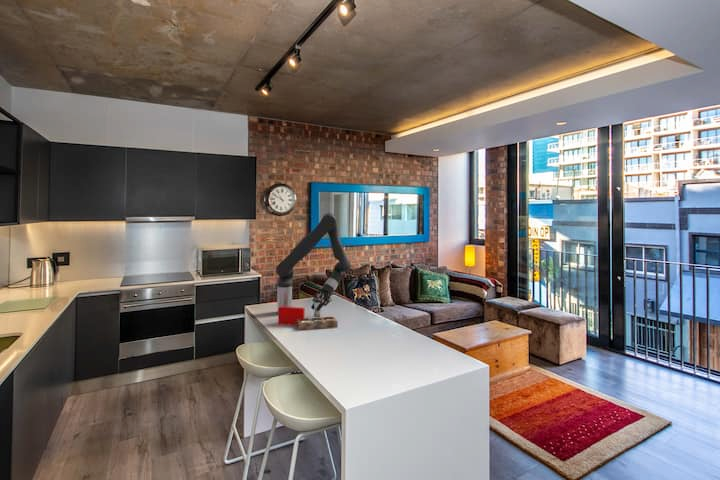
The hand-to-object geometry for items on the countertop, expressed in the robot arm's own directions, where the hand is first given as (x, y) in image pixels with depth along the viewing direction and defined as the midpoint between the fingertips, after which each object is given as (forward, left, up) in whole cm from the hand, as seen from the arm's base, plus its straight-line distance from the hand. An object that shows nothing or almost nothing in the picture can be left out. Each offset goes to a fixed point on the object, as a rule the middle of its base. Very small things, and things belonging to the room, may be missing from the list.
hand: (314, 309), depth 226 cm
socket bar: (+12, -1, -7) cm, 14 cm away
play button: (+4, -15, -7) cm, 17 cm away
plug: (-1, +2, -5) cm, 5 cm away
